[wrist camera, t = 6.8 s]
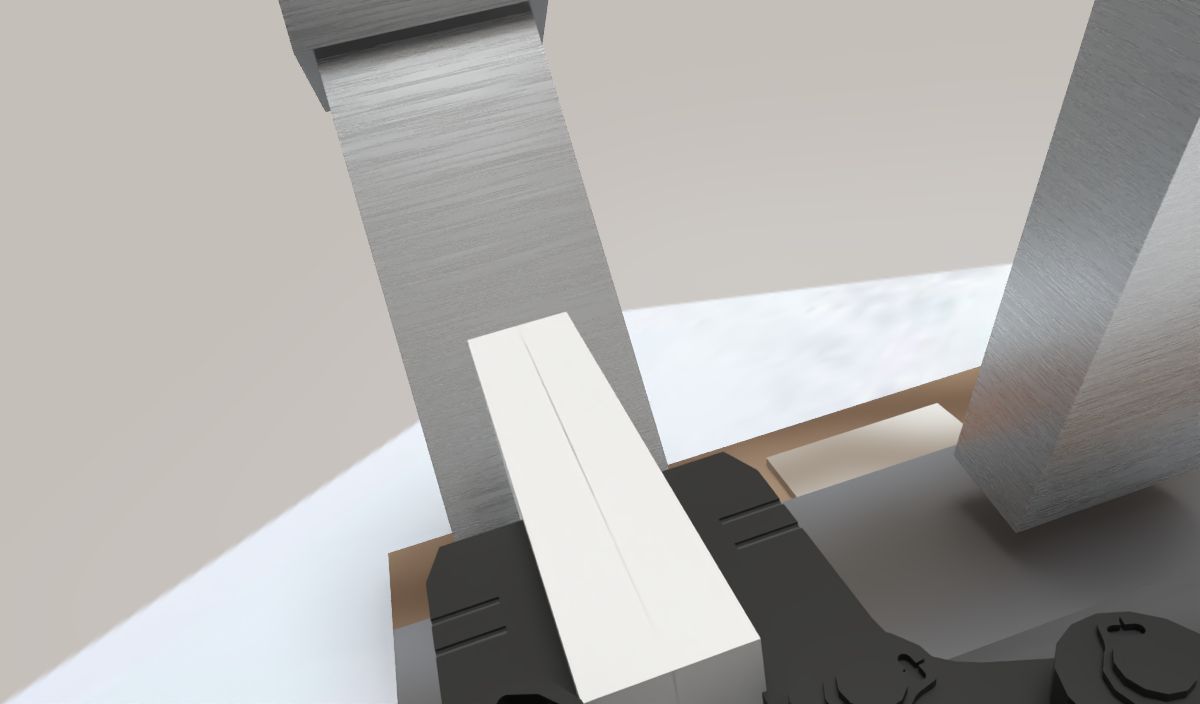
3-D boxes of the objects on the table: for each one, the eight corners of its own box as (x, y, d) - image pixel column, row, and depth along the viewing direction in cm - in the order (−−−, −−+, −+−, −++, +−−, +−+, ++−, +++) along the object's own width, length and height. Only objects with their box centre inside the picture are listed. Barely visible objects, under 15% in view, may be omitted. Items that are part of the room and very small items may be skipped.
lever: (725, 584, 15) (499, -170, 15) (471, 671, 14) (244, -120, 15) (688, 558, 17) (498, -79, 18) (474, 629, 17) (283, -34, 17)
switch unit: (1900, 640, 17) (2070, 442, 14) (452, 1293, 13) (343, 1170, 10) (1203, 318, 31) (1229, 189, 28) (397, 576, 26) (346, 450, 24)
